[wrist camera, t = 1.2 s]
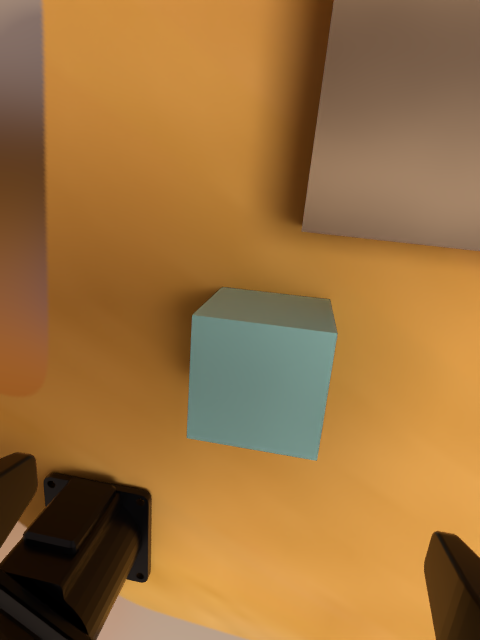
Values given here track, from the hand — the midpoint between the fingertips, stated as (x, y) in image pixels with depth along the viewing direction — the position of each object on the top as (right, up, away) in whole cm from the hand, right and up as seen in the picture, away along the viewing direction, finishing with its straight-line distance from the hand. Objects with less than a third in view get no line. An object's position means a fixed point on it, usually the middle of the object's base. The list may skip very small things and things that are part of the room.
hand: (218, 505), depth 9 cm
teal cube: (+2, +3, +10) cm, 11 cm away
